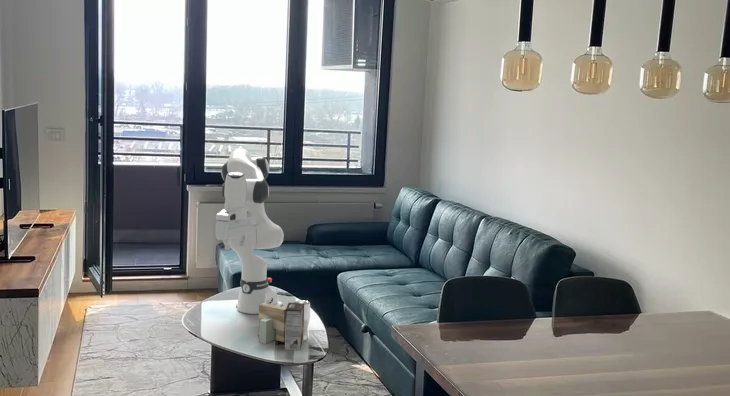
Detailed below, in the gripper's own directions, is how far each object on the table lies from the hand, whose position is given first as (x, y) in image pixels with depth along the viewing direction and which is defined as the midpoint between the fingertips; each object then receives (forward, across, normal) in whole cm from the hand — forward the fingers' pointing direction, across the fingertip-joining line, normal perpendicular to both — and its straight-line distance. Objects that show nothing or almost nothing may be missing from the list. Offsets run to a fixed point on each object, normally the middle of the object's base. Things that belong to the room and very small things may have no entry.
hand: (235, 247), depth 276 cm
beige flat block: (+35, -3, +17) cm, 39 cm away
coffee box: (+35, 0, +29) cm, 46 cm away
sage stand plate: (+35, -3, +17) cm, 39 cm away
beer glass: (+35, -8, +27) cm, 45 cm away
